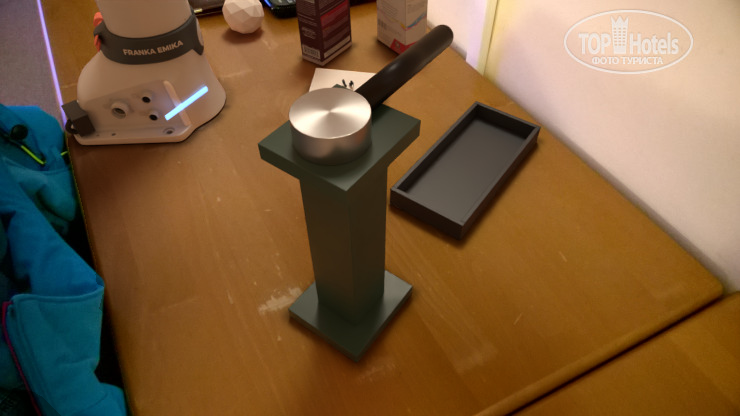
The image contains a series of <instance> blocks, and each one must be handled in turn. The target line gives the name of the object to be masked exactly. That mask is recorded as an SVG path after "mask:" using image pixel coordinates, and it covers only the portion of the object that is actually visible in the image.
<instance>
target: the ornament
mask: <svg viewBox="0 0 740 416" xmlns="http://www.w3.org/2000/svg"><path fill="white" fill-rule="evenodd" d="M221 9H222V10H221V12H222V15H223V18H224V21H225V22H226V24H227V25H228V26H229V28H230V29H231V30H232V31H235V32H238V33H240V34H242V35H244V34H253V33H254V32H256V31H257V30H258V29H259V28H260V27H262V24H263V21H264V18H265V12H264V8H263V4H262V2H260V0H224V3H223V6H222V8H221Z"/></svg>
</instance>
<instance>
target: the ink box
mask: <svg viewBox="0 0 740 416" xmlns="http://www.w3.org/2000/svg"><path fill="white" fill-rule="evenodd" d="M428 6H429V0H376V32H377V33H376V38H377V40H378V41H380V42H381V43H382V44H384V45H385V46H387V47H388V48H389V49H391V50H392V51H393V52H395V53H396V54H398V56H399V55H400V54H402V53H403V52H404V51H406V50H407V49H408V48H409V47H411V46H412V45H413V44H414V43H416V42H417V41H418V40H419V39H421V38H422V37H423V36H424V35H426V34H427V29H428V28H427V27H428V24H427V23H428Z"/></svg>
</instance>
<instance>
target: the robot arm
mask: <svg viewBox="0 0 740 416" xmlns="http://www.w3.org/2000/svg"><path fill="white" fill-rule="evenodd" d="M94 2H95V4H96V7H97V9H98V11H97V12H96V13H95V14H94V16H93V21H92V25H93V27H94V29H93V34H92V35H93V38H94V41H93V43H94V47H95V48H96V51H97V53H96V54H95V55H94V56H93V57H92V58H91V59H90V60H89V61H88V62H87V63H86V64H85V65H84V66H83V68H82V70H81V72H80V75H79V76H78V80H77V85H76V97H77V99H74V100H71V101H69V102H66V103H64V104H61V105H60V107H61V109H62V111H63V112H64V114H65V116H66V117H67V120H66V122H65V124H64V128H65V130H66V132H67V133H68V134H71V135H73V138H75V140H76V141H77V143H78V144H80V145H83V146H96V145H98V146H99V145H123V144H125V145H126V144H150V143H151V144H153V143H154V144H155V143H177V142H183V141H184V140H187V138H188V137H189V136H190V135H192V133H193V132H194V131H195V130H196V129H197V128H199V127H200V126H203V124H206V123H207V122H209V121H210V120H212V119H213V118H214V117H216V116H217V115H218V114H219V113H220V111H221V110H222V109H223V107H224V105H225V103H226V99H227V94H226V91H225V89H224V87H223V85H222V84H221V83H220V81H219V80H218V78H217V76H216V74H215V73H214V70H213V68H212V66H211V64H210V61H209V59H208V57H207V55H206V52H205V42H204V37H203V33H202V29H201V26H200V22H199V19H198V18H197V15H196V13H195V10H194V8H193V7H192V5H190V3H189V0H94Z"/></svg>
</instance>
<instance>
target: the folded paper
mask: <svg viewBox="0 0 740 416" xmlns="http://www.w3.org/2000/svg"><path fill="white" fill-rule="evenodd" d="M376 73H377V72H365V71H364V72H363V71H354V70H345V69H332V68H321V67H315V70H314V74H313V77H312V79H311V83H310V85H309V86H310V87H309V90H308V92H310V91H313V90H317V89H321V88H332V87H333V86H334V85H336V84H339V85H341V86H343V87H346V88H348V89H350V90H353V91H355V90H356V89H357V88H359V87H360V86H361V85H362V84H364V83H365V82H366V81H368V80H369V79H370V78H371V77H373V76H374V75H375V74H376Z"/></svg>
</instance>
